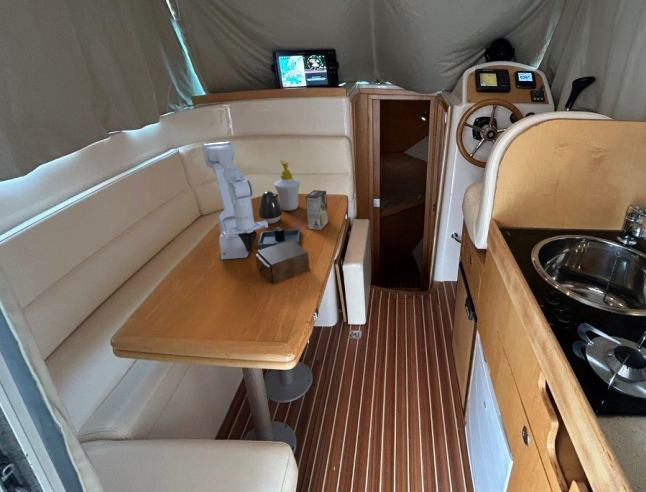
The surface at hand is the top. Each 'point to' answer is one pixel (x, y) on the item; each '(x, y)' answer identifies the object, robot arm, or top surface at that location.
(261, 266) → the drawer
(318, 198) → the coffee box
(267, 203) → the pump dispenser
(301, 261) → the cabinet
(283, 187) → the soap bottle
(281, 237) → the spice tin
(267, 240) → the tray
